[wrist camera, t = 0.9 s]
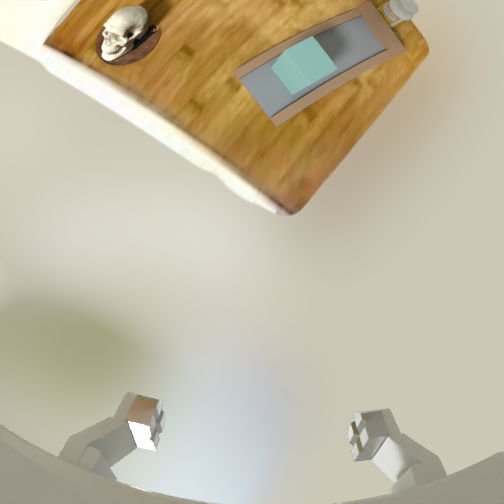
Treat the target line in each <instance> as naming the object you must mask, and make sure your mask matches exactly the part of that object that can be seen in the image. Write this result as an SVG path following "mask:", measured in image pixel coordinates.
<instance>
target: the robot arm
mask: <svg viewBox="0 0 504 504" xmlns="http://www.w3.org/2000/svg"><path fill="white" fill-rule="evenodd" d="M162 406H163V404H162V401H161V400H158V399H154V398H149V397H145V396H142V395H138V394H134V393H130V392H127V393H126V394H125V396H124V398H123V400H122V401H121V403H120V405H119V407H118V409H117V411H116V413H115V414H114V416H113V417H108V418H106V419H105V420H103V421H101V422H99V423H97V424H95V425H93V426H91V427H89V428H87V429H85V430H83V431H81V432H79V433H77V434H75V435H73V436H70V437H69V439H68V441H67V442H66V444H65V446H64V448H63V449H62V451H61V452H60V454H59V456H56V455H54V454H51V453H50V452H48V451H46V450H44V449H42V448H40V447H38V446H36V445H35V444H33V443H31V442H30V441H28V440H26V439H24V438H23V437H21V436H20V435H18V434H17V433H15V432H13V431H12V430H10V429H9V428H7V427H6V426H4V425H2V424H0V504H217V503H208V502H202V501H196V500H190V499H184V498H179V497H174V496H169V495H165V494H161V493H156V492H152V491H149V490H144V489H141V488H138V487H134V486H131V485H128V484H124V483H121V482H118V481H116V477H115V475H114V474H113V472H112V470H111V469H110V467H111V466H113V465H114V464H115V463H117V462H118V461H120V460H121V459H122V458H124V457H125V456H126V455H127V454H129V453H130V452H132V451H133V450H134V449H135V448H137V446H138V447H141V448H146V449H150V450H156V448H157V445H158V443H159V435H158V434H159V433H161V432H162V431H163V428H164V422H165V415H164V412H163V411H162V410H161V409H162ZM354 419H355V421H354V422H352V423H351V424H350V426H349V430H348V439H349V443H350V444H352V445H353V448H352V450H351V451H352V455H353V459H354V461H363V460H371V459H372V461H373V462H374V463H375V464H376V465H377V466H378V467H379V468H380V469H381V470H382V471H383V472H384V473H385V474H386V475H387V476H388V477H389V478H390V479H391V480H392V481H393V482H395V484H394V485H393V486H392V487H391V488H390V489H389V490H388V492H387V495H382V496H377V497H372V498H367V499H362V500H356V501H350V502H343V503H335V504H504V452H499V453H496V454H494V455H492V456H490V457H488V458H487V459H484V460H483V461H480V462H478V463H477V464H474V465H472V466H470V467H467V468H465V469H463V470H461V471H458V472H456V473H454V474H451V475H448V476H447V474H446V472H445V470H444V467H443V465H442V463H441V461H440V459H439V457H438V456H437V455H435V454H434V453H432V452H430V451H429V450H427V449H426V448H425V447H423V446H421V445H420V444H419V443H417V442H415V441H414V440H412V439H411V438H410V437H408V436H407V435H405V434H401V433H400V431H399V428H398V426H397V424H396V421H395V419H394V417H393V415H392V412H391V410H390V409H381V410H370V411H361V412H357V413H356V414H355V416H354Z"/></svg>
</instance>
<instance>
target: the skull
mask: <svg viewBox="0 0 504 504" xmlns="http://www.w3.org/2000/svg"><path fill="white" fill-rule="evenodd" d="M153 28H155V29H157V28H156V26H155V27H154V25H152V26H151V25H150V16H149V13H148V11H147V10H146V9H145V8H143V7H142V6H127V7H123V8H121V9H119V10H117V11H116V12H115V13H114V14H113V15H112V16H111V17H110V18H109V19H108V20H107V22H106V23H105V24H104V26H103V28H102V29H101V30H100V32H99V34H98V36H97V39H96V52H97V54H98V56H99V58H100V59H101V60H102V61H104V62H105V63H107V64H110V65H126V64H130V63H133V62H135V61H138V60H140V59H141V58H143V57H144V56H146V55H147V54H148V53H149V52H150V51H151V50H152V49H153V48H154V47H155V45H156V44H157V42H158V40H159V38H160V35H161V24H160V26H159V29H158V30H159V31H158V30H155V31H156V32H152V31H153ZM151 30H152V31H151ZM150 31H151V32H150Z"/></svg>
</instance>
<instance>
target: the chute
mask: <svg viewBox="0 0 504 504" xmlns="http://www.w3.org/2000/svg"><path fill="white" fill-rule="evenodd" d="M311 36H313V37H314V38H315V40H316V41H317V42H318V43H319V45H320V46H321V47H322V48H323V50H324V51H325V52H326V54H327V55H328V56H329V58H330V59H331V60H332V62H333V63H334V64H335V66H336V67H337V68H338V69H337V70H335V71H333V72H331V73H330V74H328V75H326V76H324V77H323V78H321V79H319V80H318V81H316V82H314V83H313V84H311V85H309V86H307V87H306V88H304V89H302V90H300V91H299V92H297V93H295V94H294V95H292V94H291V93H290V92H289V91H288V89H287V88H286V87H285V85H284V84H283V83H282V81H281V80H280V79H279V78H278V76H277V75H276V74H275V73H274V71H273V70H272V69H271V67H272V66H273V64H274V63H275V62H276V61H277V59H278V58H279V57H280V56H281V54H282V53H283V52H284V51H285V50H286V49H288V48H290V47H292V46H294V45H296V44H297V43H299V42H301V41H303V40H305V39H307V38H309V37H311ZM404 52H406V50H405V48H404V47H403V45H402V44H401V42H400V41H399V39H398V38H397V36H396V35H395V33H394V32H393V30H392V29H391V28H390V26H389V25H388V23H387V22H386V21H385V19H384V18H383V17H382V15H381V14H380V13H379V12H378V10H377V9H376V8H375V6H374V5H373V4H372V3H371V2H370V0H369V1H366V2H364V3H362V4H361V5H360V6H359V7H357V8H356V9H354V10H352V11H349V12H347V13H344V14H342V15H339V16H337V17H334V18H332V19H330V20H327V21H325V22H323V23H321V24H318V25H316V26H314V27H312V28H310V29H308V30H306V31H304V32H302V33H300V34H298V35H296V36H294V37H292V38H290V39H288V40H286V41H284V42H282V43H280V44H278V45H277V46H275V47H273V48H271V49H269V50H268V51H266V52H264V53H263V54H261V55H259V56H257V57H256V58H254V59H252V60H251V61H249V62H247V63H246V64H244V65H243V66H241V67H239V68H238V69H236V70H235V71H233V73H234V74H235V76H236V77H237V78H238V79H239V80H240V82H241V83H242V84H243V85H244V86H245V88H246V89H247V90H248V91H249V93H250V94H251V95H252V96H253V98H254V99H255V100H256V101H257V103H258V104H259V105H260V106H261V108H262V109H263V110H264V112H265V113H266V114H267V115H268V117H269V118H270V119H271V121H272V122H273V123H274V125H275V126H276V127H277V126H279V125H280V124H282V123H283V122H284V121H286V120H287V119H289V118H290V117H292V116H293V115H295V114H296V113H298V112H299V111H301V110H302V109H304V108H306V107H307V106H309V105H310V104H312V103H313V102H315V101H317V100H318V99H320V98H321V97H323V96H324V95H326V94H328V93H329V92H331V91H333V90H334V89H336V88H338V87H339V86H341V85H343V84H344V83H346V82H348V81H349V80H351V79H353V78H355V77H356V76H358V75H360V74H362V73H363V72H365V71H367V70H369V69H371V68H372V67H374V66H376V65H378V64H380V63H382V62H383V61H385V60H387V59H389V58H391V57H394V56H397V55H400V54H402V53H404Z"/></svg>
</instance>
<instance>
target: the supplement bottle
mask: <svg viewBox="0 0 504 504" xmlns="http://www.w3.org/2000/svg"><path fill="white" fill-rule="evenodd" d="M376 9H377V10H378V12H379V13H380V14H381V15H382V17H383V18H384V19H385V21H386V22H387V23H388V25H389V26H390V28H393V27H395V26H398V25H400V24H402V23H404V22H406V21H409V20H410V19H412V17H413V15H414V14H415V13H417V12H418V6H417V4H416V3H415V2H414V0H388V1H387V2H385V3H383V4H382V5H380V6H379V7H377V8H376Z"/></svg>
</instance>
